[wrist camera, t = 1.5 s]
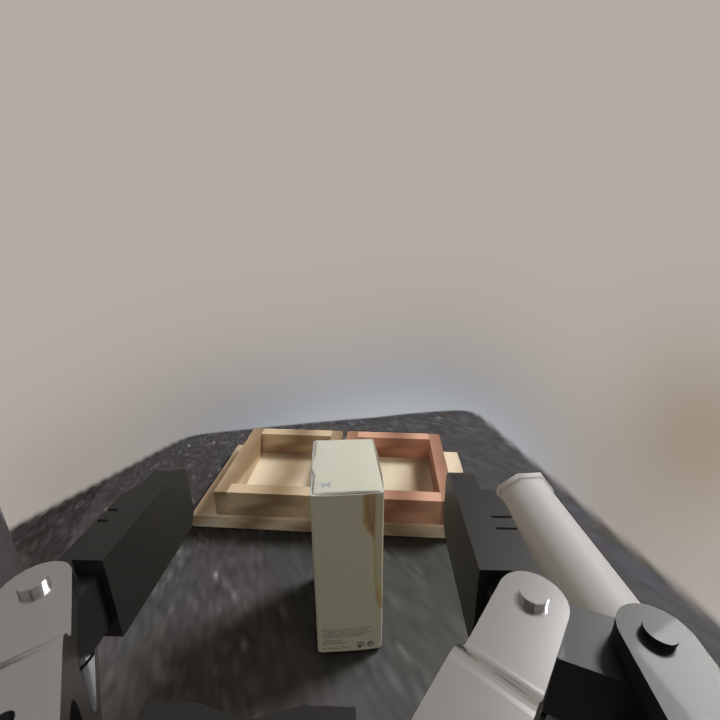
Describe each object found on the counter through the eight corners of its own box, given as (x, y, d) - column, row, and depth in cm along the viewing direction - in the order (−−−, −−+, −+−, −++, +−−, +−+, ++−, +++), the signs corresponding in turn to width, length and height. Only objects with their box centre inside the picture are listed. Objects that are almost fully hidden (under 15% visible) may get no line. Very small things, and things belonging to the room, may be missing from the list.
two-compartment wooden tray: (192, 525, 35) (186, 492, 34) (239, 453, 47) (236, 426, 45) (479, 540, 34) (484, 505, 33) (456, 461, 45) (458, 433, 44)
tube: (960, 1044, 13) (555, 508, 36) (999, 994, 11) (545, 463, 34) (796, 1079, 13) (500, 525, 36) (806, 1035, 11) (488, 482, 35)
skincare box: (383, 650, 25) (388, 495, 21) (316, 656, 25) (308, 499, 21) (372, 568, 31) (374, 435, 27) (318, 571, 31) (312, 437, 27)
